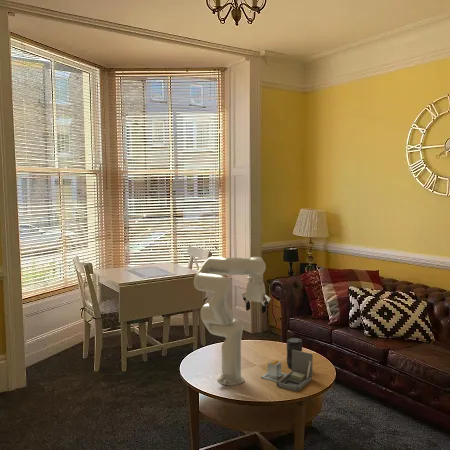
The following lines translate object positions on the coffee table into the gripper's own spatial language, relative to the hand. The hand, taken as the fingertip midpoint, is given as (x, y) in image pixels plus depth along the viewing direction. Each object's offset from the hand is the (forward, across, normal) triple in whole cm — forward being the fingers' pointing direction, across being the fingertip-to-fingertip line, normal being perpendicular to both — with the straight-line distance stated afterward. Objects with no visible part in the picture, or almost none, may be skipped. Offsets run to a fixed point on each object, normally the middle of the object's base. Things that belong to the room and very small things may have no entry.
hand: (256, 311), depth 262 cm
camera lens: (+29, +21, +4) cm, 36 cm away
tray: (+28, +18, -14) cm, 36 cm away
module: (+28, +18, -14) cm, 36 cm away
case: (+28, +30, -15) cm, 44 cm away
